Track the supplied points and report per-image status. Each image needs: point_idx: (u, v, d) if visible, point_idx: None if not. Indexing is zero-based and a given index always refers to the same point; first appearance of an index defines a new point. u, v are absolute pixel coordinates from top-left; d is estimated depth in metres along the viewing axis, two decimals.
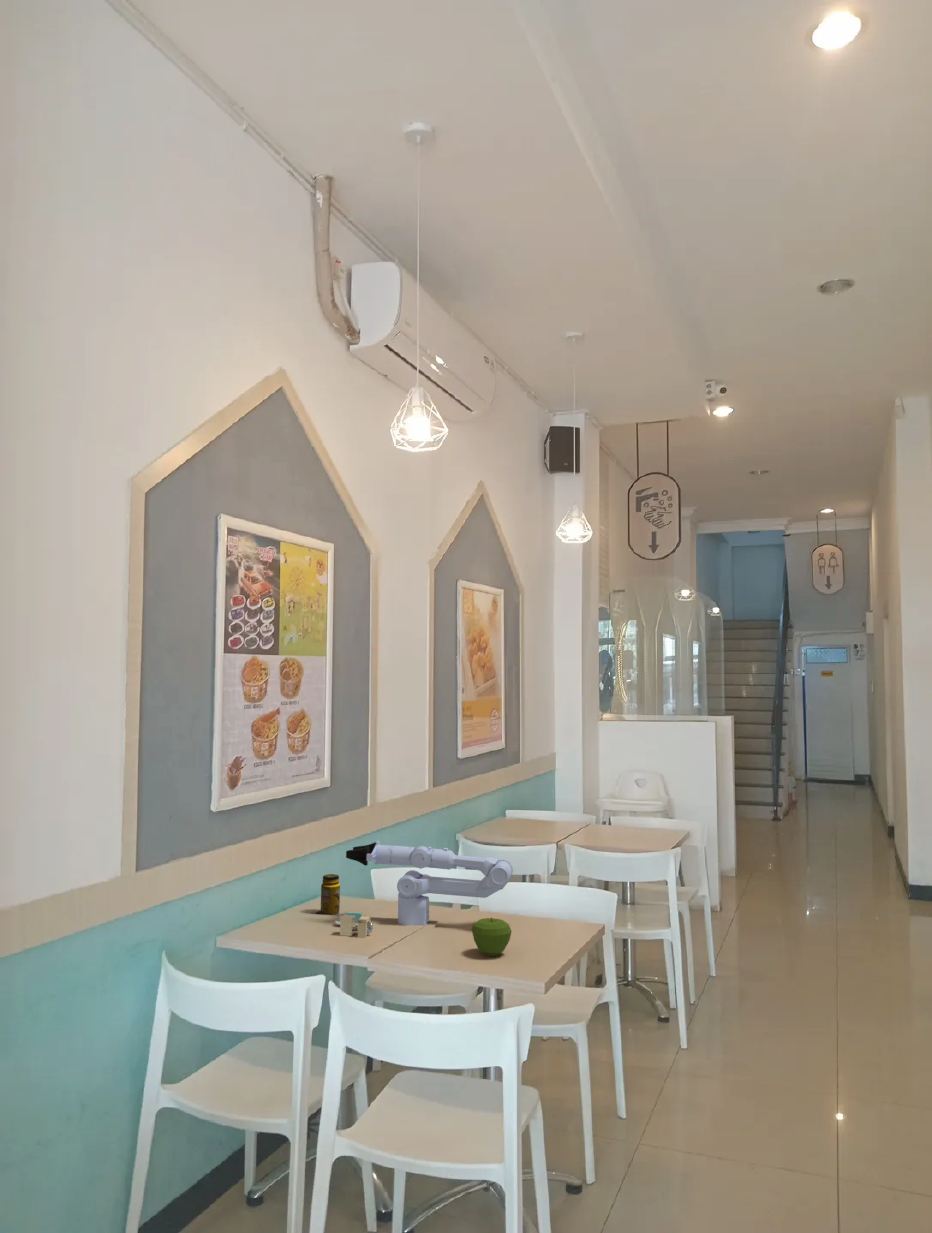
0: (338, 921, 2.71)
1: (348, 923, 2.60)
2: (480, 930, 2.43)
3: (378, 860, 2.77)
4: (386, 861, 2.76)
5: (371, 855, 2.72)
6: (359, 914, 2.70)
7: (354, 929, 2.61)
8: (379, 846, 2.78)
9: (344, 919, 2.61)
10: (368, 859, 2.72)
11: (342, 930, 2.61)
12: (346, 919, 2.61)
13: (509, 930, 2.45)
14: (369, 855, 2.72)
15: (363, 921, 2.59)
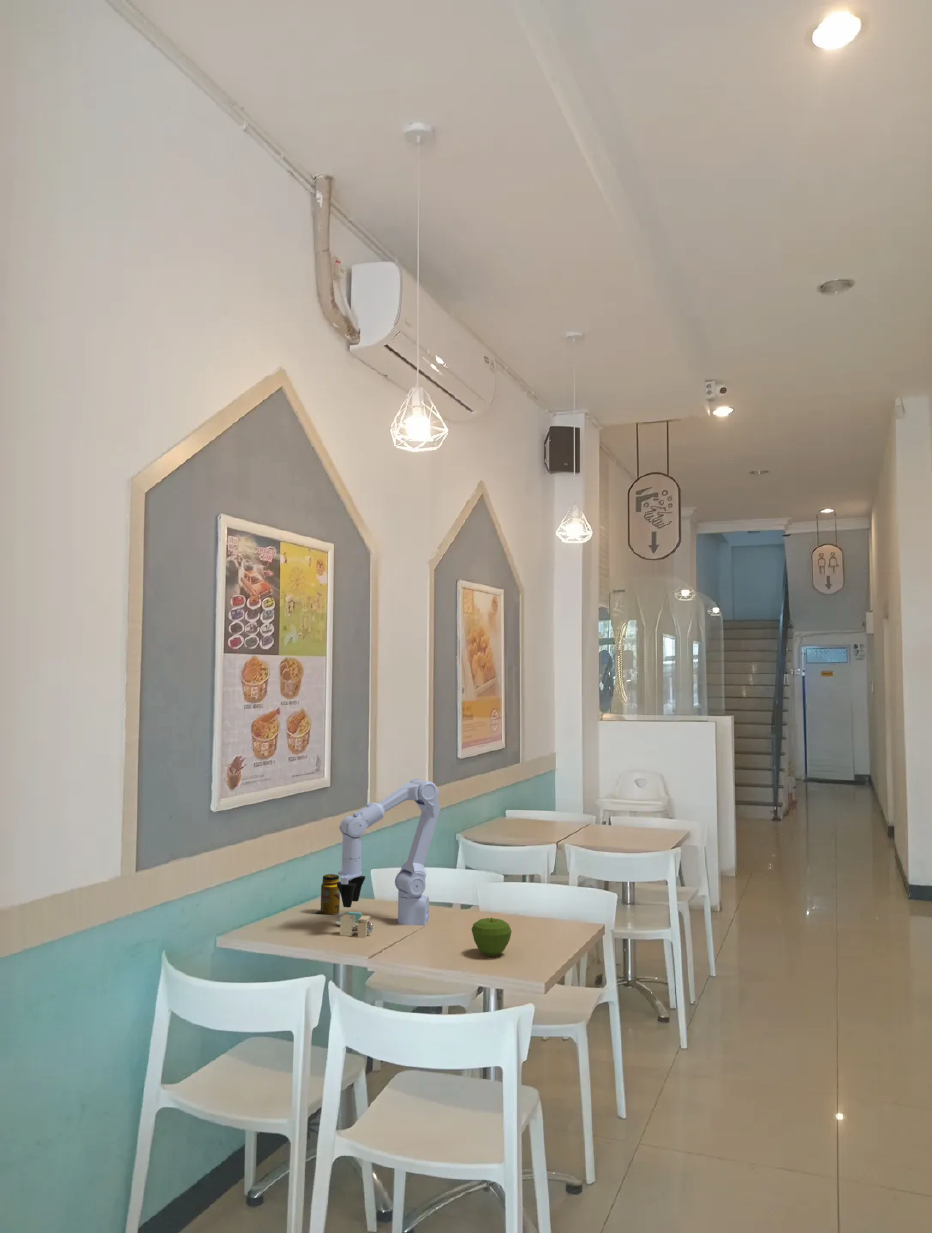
0: (338, 921, 2.71)
1: (348, 923, 2.60)
2: (480, 930, 2.43)
3: (354, 871, 2.65)
4: (354, 863, 2.65)
5: (341, 878, 2.61)
6: (359, 914, 2.70)
7: (354, 929, 2.61)
8: (342, 871, 2.67)
9: (344, 919, 2.61)
10: (345, 882, 2.60)
11: (342, 930, 2.61)
12: (346, 919, 2.61)
13: (509, 930, 2.45)
14: (342, 881, 2.61)
15: (363, 921, 2.59)
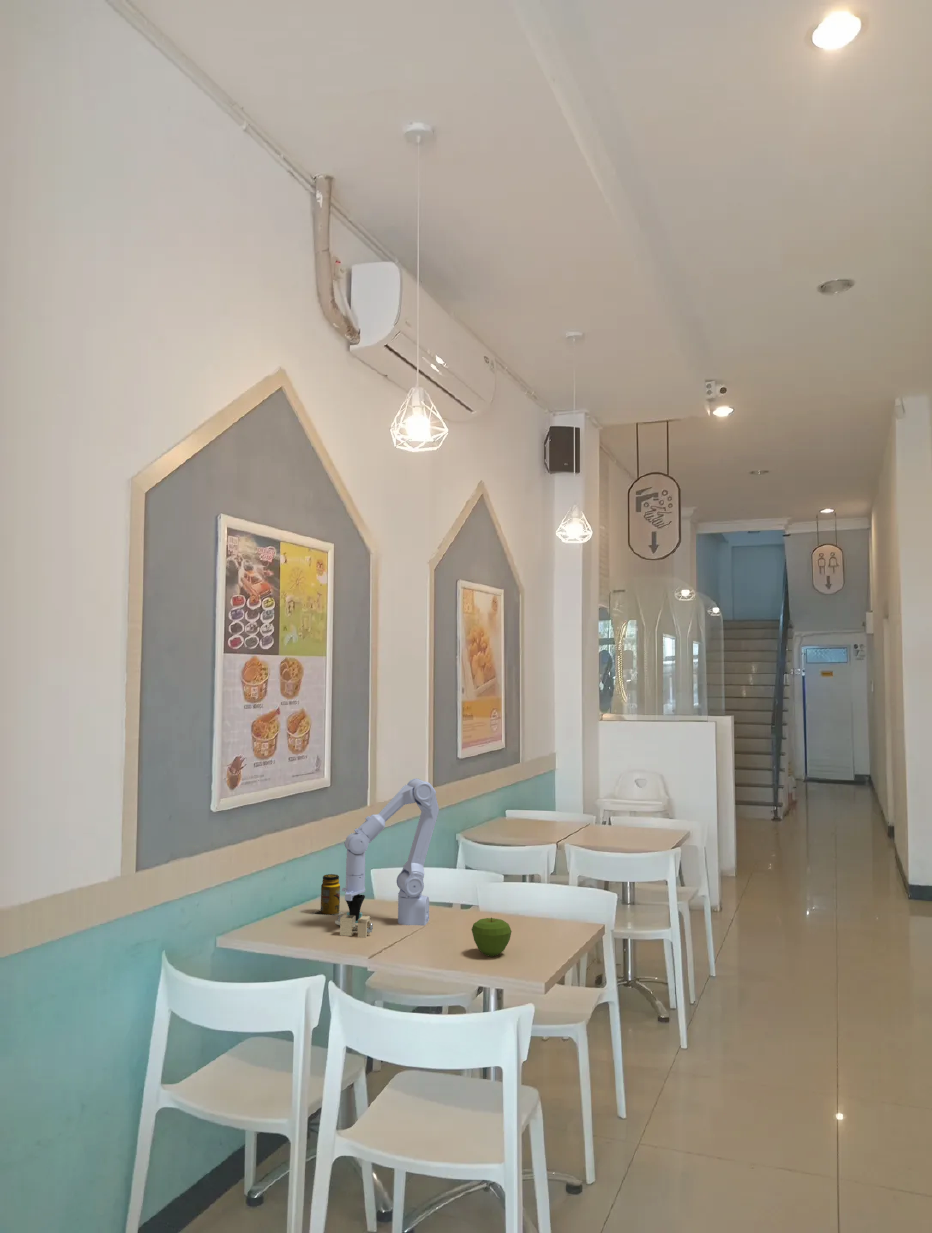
0: (338, 921, 2.71)
1: (348, 923, 2.60)
2: (480, 930, 2.43)
3: (358, 888, 2.69)
4: (358, 879, 2.69)
5: (346, 895, 2.64)
6: (359, 914, 2.70)
7: (354, 929, 2.61)
8: (346, 887, 2.70)
9: (344, 919, 2.61)
10: (350, 898, 2.64)
11: (342, 930, 2.61)
12: (346, 919, 2.61)
13: (509, 930, 2.45)
14: (346, 897, 2.64)
15: (363, 921, 2.59)
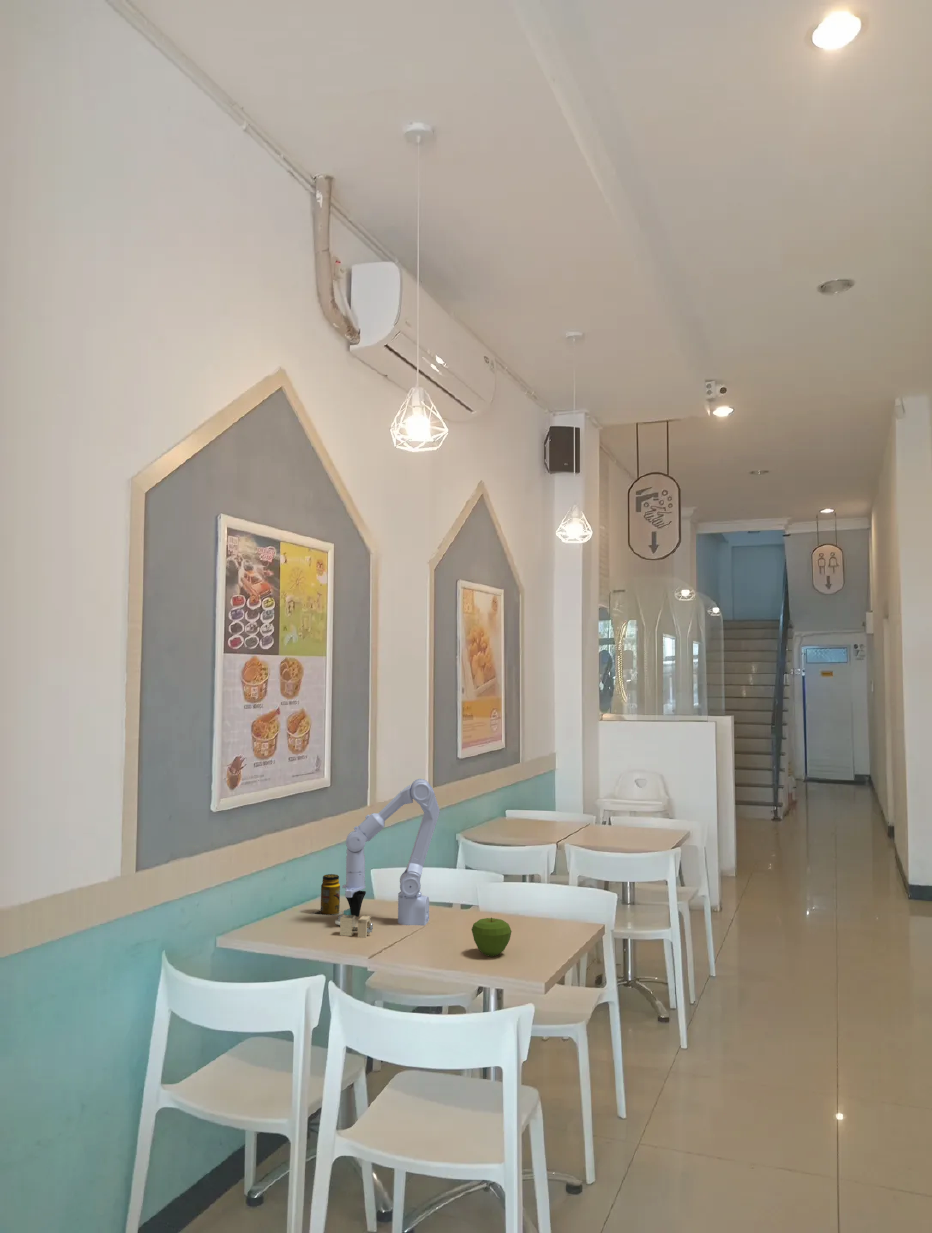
0: None
1: (348, 923, 2.60)
2: (480, 930, 2.43)
3: (358, 884, 2.73)
4: (358, 876, 2.73)
5: (346, 892, 2.69)
6: None
7: (354, 929, 2.61)
8: (346, 884, 2.75)
9: (344, 919, 2.61)
10: (350, 895, 2.68)
11: (342, 930, 2.61)
12: (346, 919, 2.61)
13: (509, 930, 2.45)
14: (346, 894, 2.69)
15: (363, 921, 2.59)
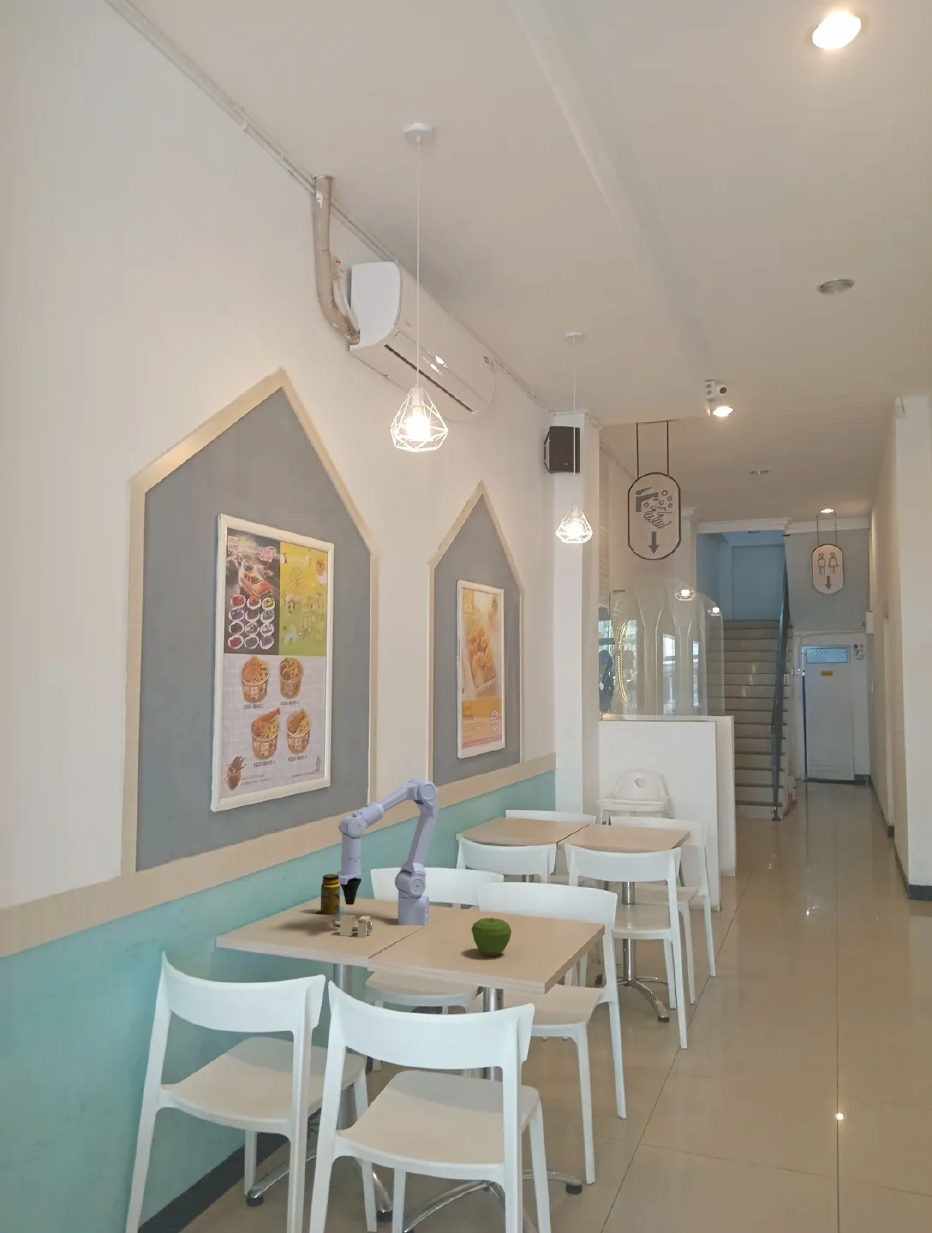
0: None
1: (348, 923, 2.60)
2: (480, 930, 2.43)
3: (353, 871, 2.65)
4: (354, 863, 2.65)
5: (340, 878, 2.60)
6: None
7: (354, 929, 2.61)
8: (341, 871, 2.67)
9: (344, 919, 2.61)
10: (344, 882, 2.60)
11: (342, 930, 2.61)
12: (346, 919, 2.61)
13: (509, 930, 2.45)
14: (340, 880, 2.60)
15: (363, 921, 2.59)
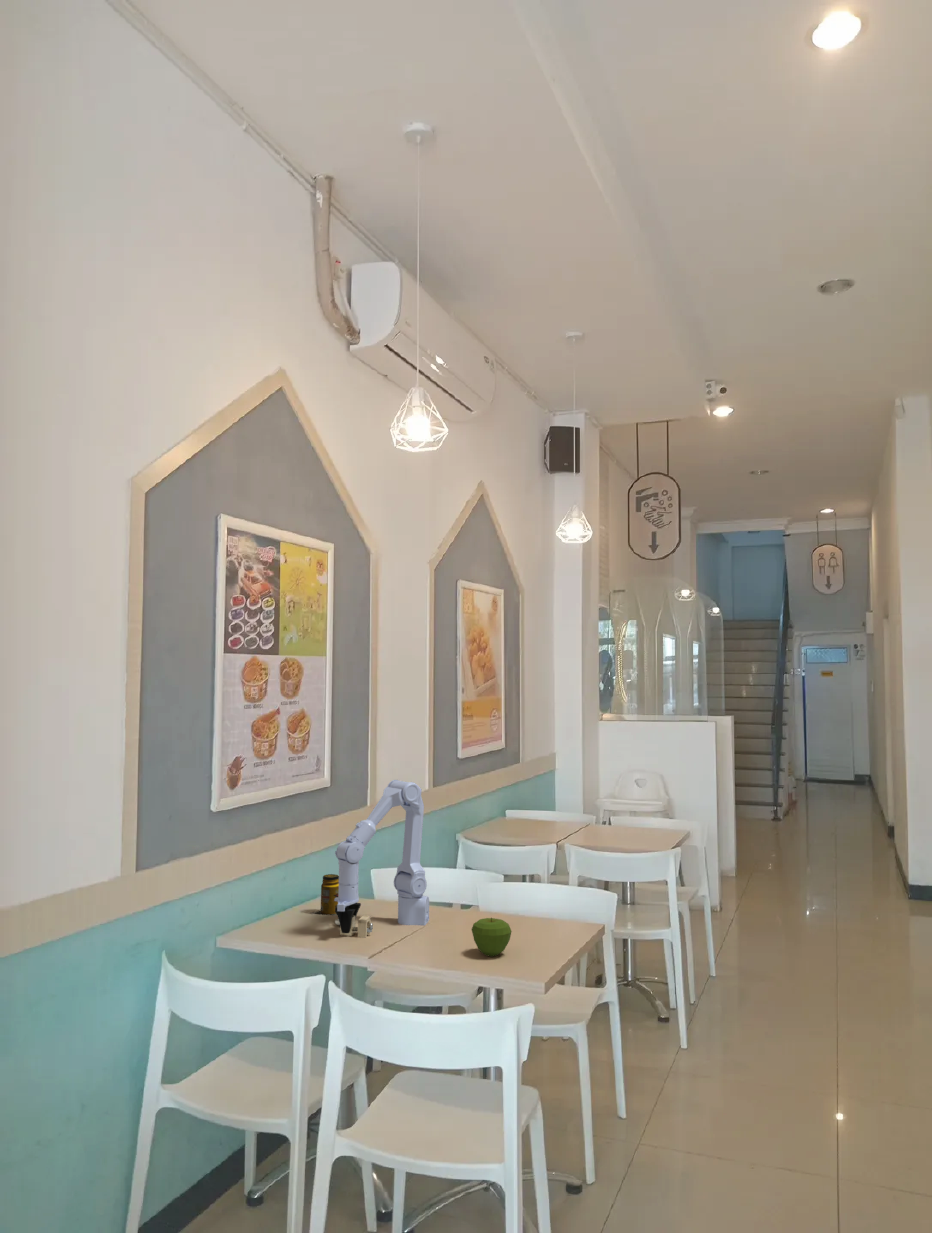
0: None
1: None
2: (480, 930, 2.43)
3: (351, 898, 2.60)
4: (351, 889, 2.60)
5: (338, 905, 2.56)
6: None
7: (354, 929, 2.61)
8: (338, 897, 2.62)
9: None
10: (342, 909, 2.55)
11: None
12: None
13: (509, 930, 2.45)
14: (338, 908, 2.56)
15: (363, 921, 2.59)
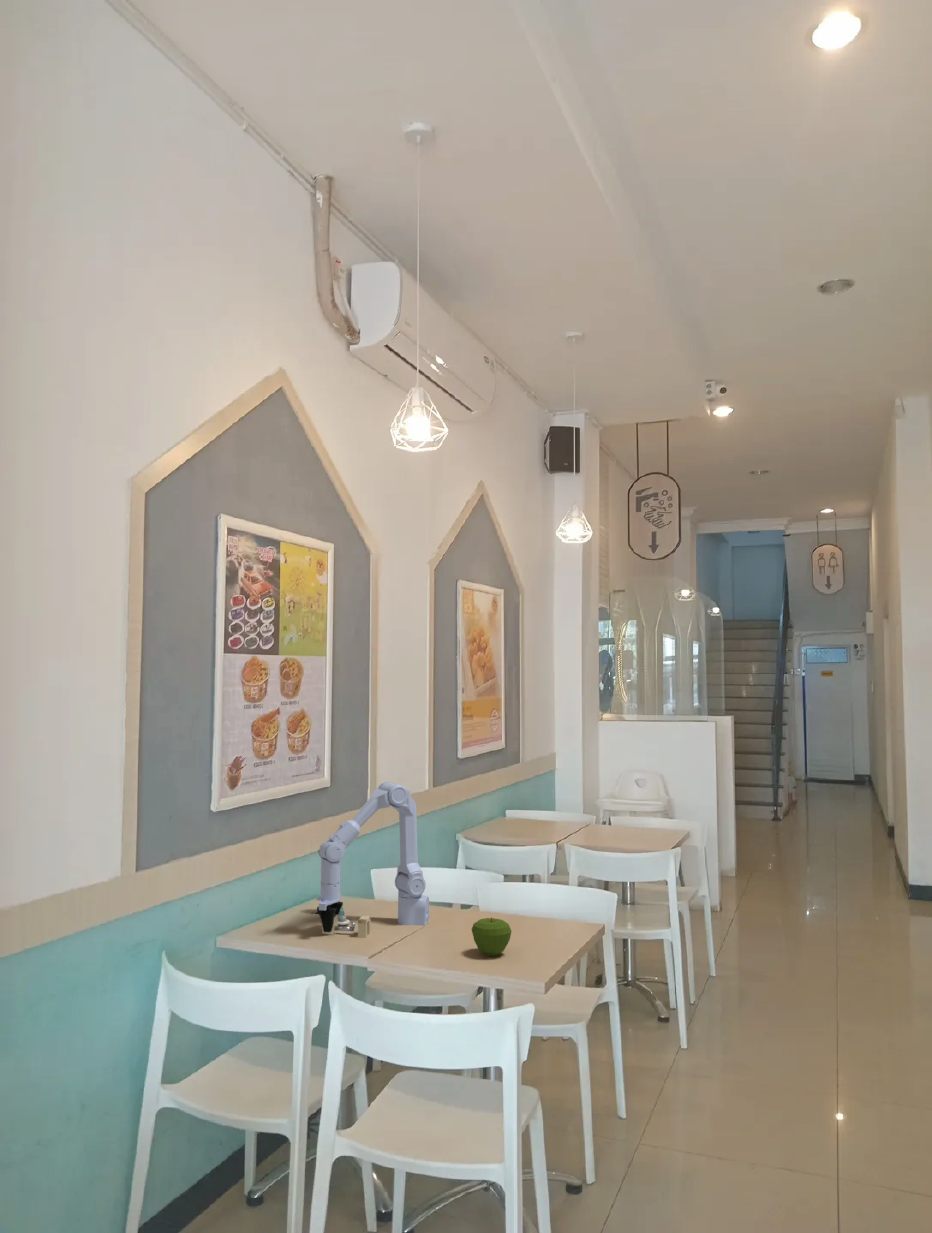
0: (345, 921, 2.71)
1: None
2: (480, 930, 2.43)
3: (333, 897, 2.61)
4: (333, 888, 2.61)
5: (319, 904, 2.57)
6: (342, 908, 2.77)
7: (336, 928, 2.62)
8: (320, 896, 2.63)
9: None
10: (324, 908, 2.56)
11: None
12: None
13: (509, 930, 2.45)
14: (320, 907, 2.57)
15: (363, 921, 2.59)
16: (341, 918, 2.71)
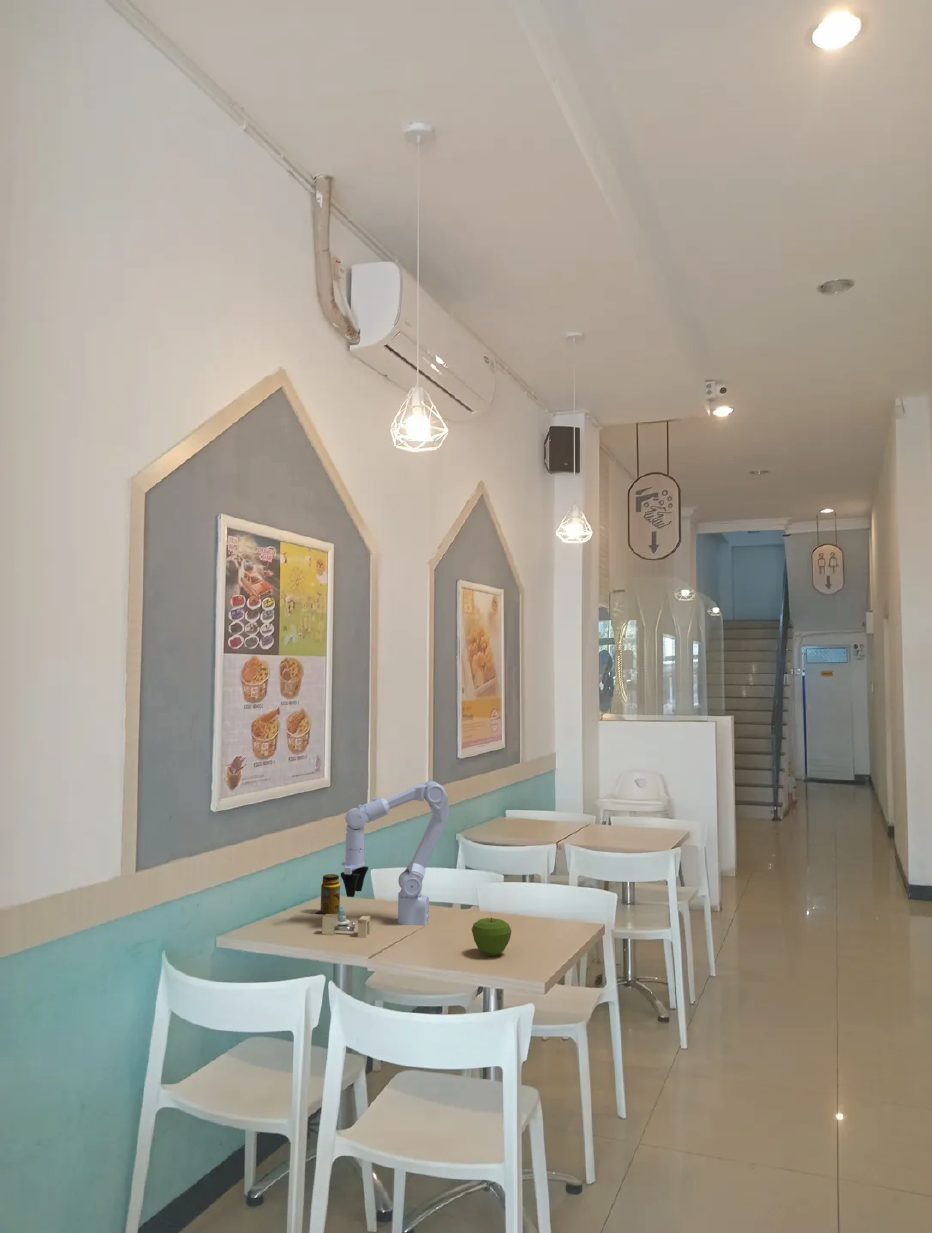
0: (345, 921, 2.71)
1: (331, 922, 2.61)
2: (480, 930, 2.43)
3: (357, 862, 2.72)
4: (358, 854, 2.72)
5: (345, 869, 2.67)
6: (342, 908, 2.77)
7: (336, 928, 2.62)
8: (345, 861, 2.74)
9: (326, 918, 2.62)
10: (349, 872, 2.67)
11: (324, 929, 2.61)
12: (328, 918, 2.62)
13: (509, 930, 2.45)
14: (345, 871, 2.67)
15: (363, 921, 2.59)
16: (341, 918, 2.71)
